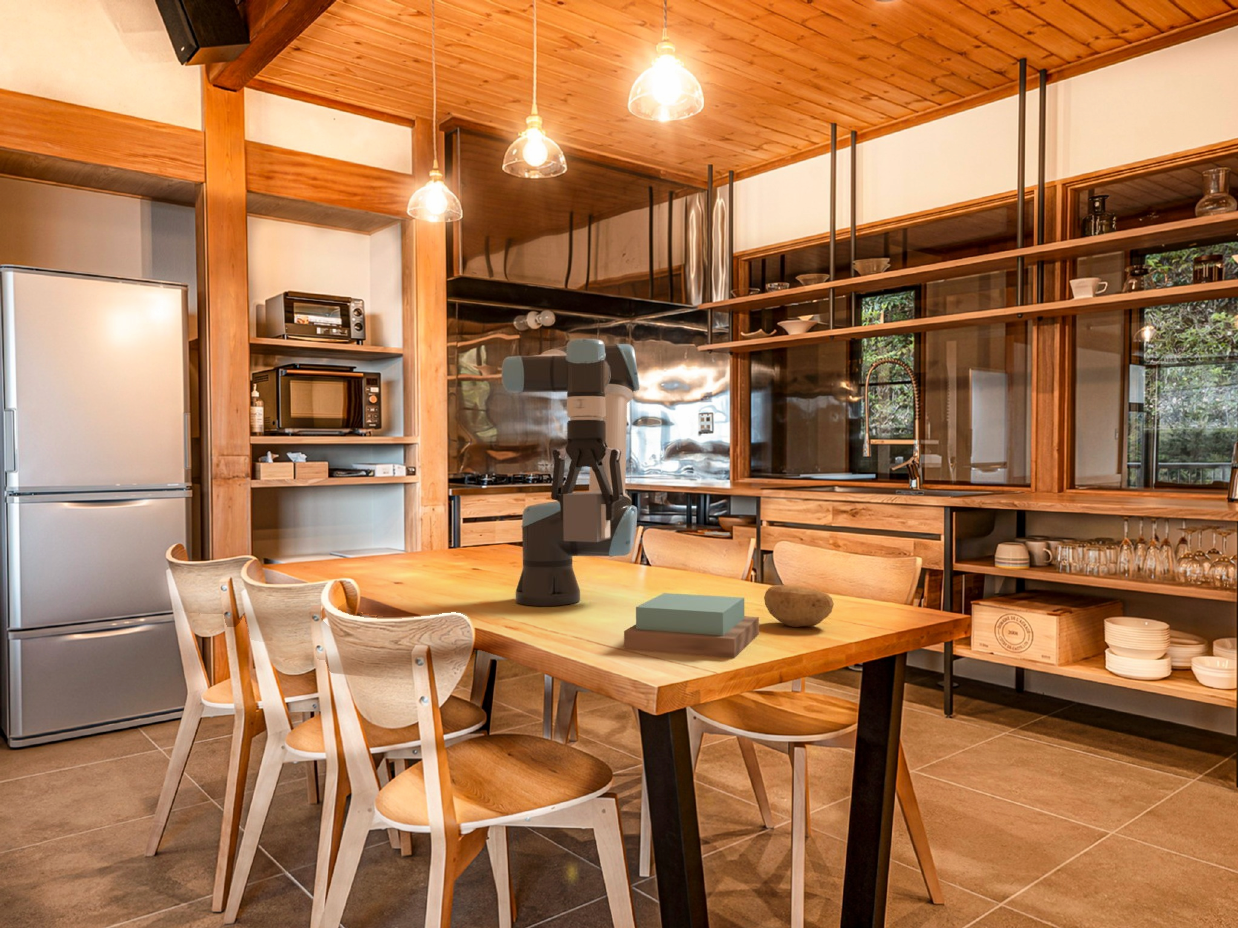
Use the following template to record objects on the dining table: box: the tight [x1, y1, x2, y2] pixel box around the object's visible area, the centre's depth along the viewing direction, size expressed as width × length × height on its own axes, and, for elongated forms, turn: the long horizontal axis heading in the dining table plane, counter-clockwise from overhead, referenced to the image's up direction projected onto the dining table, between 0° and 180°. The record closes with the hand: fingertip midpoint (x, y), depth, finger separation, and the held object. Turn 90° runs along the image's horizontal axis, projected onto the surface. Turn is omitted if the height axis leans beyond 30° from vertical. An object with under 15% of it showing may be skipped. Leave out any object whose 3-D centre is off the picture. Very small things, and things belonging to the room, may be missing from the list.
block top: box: [635, 592, 745, 636], centre depth 161 cm, size 16×16×4 cm
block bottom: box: [623, 615, 760, 659], centre depth 161 cm, size 20×20×4 cm
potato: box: [763, 584, 834, 628], centre depth 174 cm, size 10×14×8 cm
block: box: [563, 491, 611, 542], centre depth 171 cm, size 7×7×9 cm
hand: (587, 536), depth 171 cm, fingers closed on block, 7 cm apart
